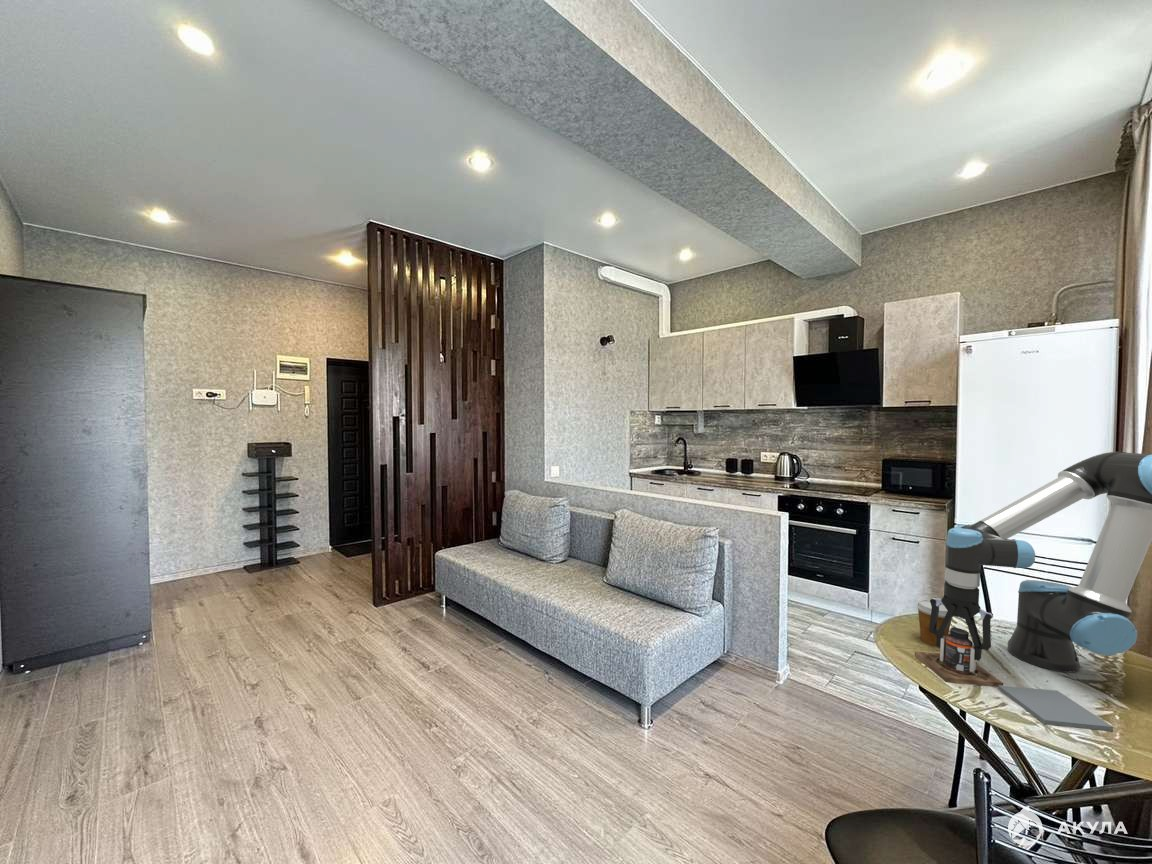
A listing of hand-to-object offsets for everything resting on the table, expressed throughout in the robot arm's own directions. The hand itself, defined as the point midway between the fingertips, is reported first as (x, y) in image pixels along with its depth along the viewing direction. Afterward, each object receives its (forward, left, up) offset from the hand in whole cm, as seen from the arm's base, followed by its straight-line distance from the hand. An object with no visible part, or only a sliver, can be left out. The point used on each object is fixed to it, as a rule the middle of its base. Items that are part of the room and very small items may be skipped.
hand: (957, 664), depth 130 cm
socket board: (0, 0, -2) cm, 2 cm away
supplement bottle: (0, 0, -2) cm, 2 cm away
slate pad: (-12, +15, -2) cm, 19 cm away
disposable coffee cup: (-4, -17, -2) cm, 18 cm away
